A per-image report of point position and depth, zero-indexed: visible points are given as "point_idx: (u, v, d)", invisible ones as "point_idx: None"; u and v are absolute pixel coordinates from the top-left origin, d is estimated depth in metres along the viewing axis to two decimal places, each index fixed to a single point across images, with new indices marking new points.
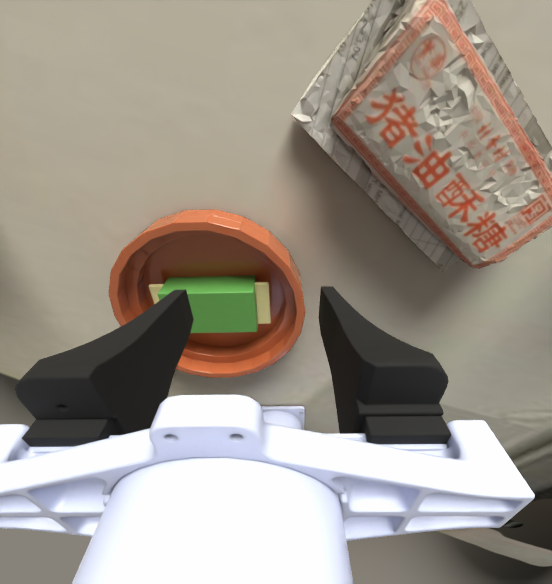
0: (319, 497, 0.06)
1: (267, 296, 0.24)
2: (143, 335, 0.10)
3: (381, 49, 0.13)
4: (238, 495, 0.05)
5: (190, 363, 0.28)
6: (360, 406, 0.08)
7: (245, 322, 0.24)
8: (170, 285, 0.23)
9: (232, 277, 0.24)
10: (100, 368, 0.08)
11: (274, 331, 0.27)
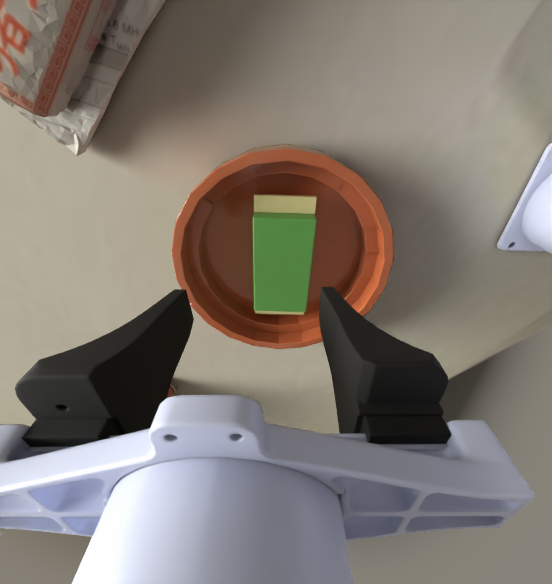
0: (319, 497, 0.06)
1: (272, 197, 0.19)
2: (143, 335, 0.10)
3: None
4: (238, 495, 0.05)
5: (360, 302, 0.23)
6: (360, 406, 0.08)
7: (298, 232, 0.19)
8: None
9: None
10: (100, 368, 0.08)
11: (338, 191, 0.19)
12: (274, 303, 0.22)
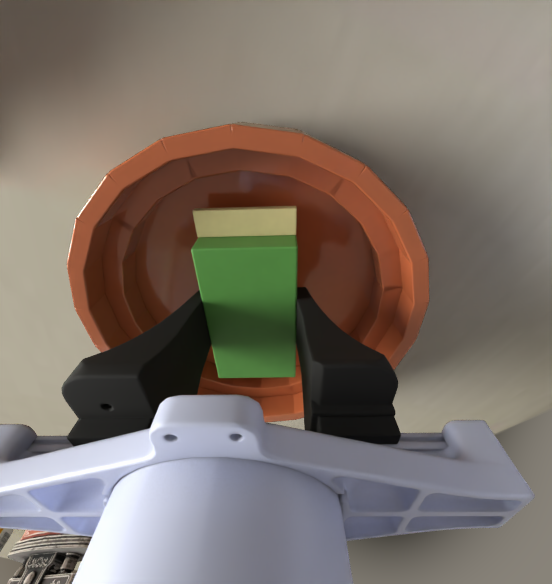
0: (319, 497, 0.06)
1: (223, 213, 0.11)
2: (178, 335, 0.10)
3: None
4: (238, 495, 0.05)
5: None
6: (313, 406, 0.08)
7: (269, 268, 0.12)
8: None
9: None
10: (146, 367, 0.08)
11: None
12: (246, 368, 0.15)
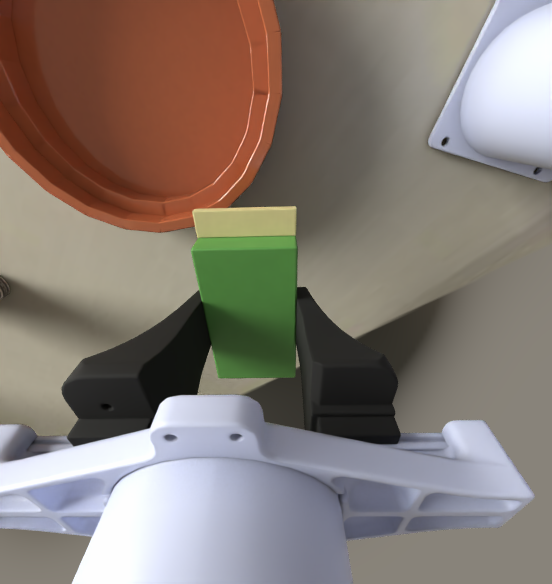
0: (319, 497, 0.06)
1: (222, 214, 0.11)
2: (178, 335, 0.10)
3: None
4: (238, 495, 0.05)
5: (242, 174, 0.17)
6: (313, 406, 0.08)
7: (269, 268, 0.12)
8: None
9: None
10: (146, 367, 0.08)
11: None
12: (246, 368, 0.15)
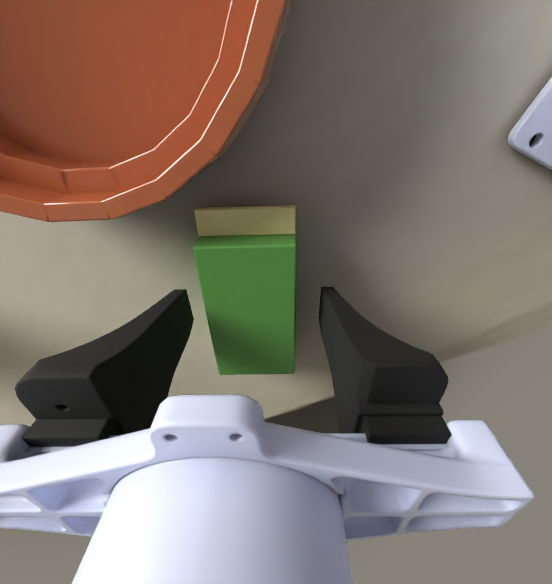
0: (319, 497, 0.06)
1: (223, 213, 0.12)
2: (143, 336, 0.10)
3: None
4: (238, 495, 0.05)
5: None
6: (360, 406, 0.08)
7: (268, 266, 0.12)
8: None
9: None
10: (100, 368, 0.08)
11: None
12: (246, 364, 0.15)
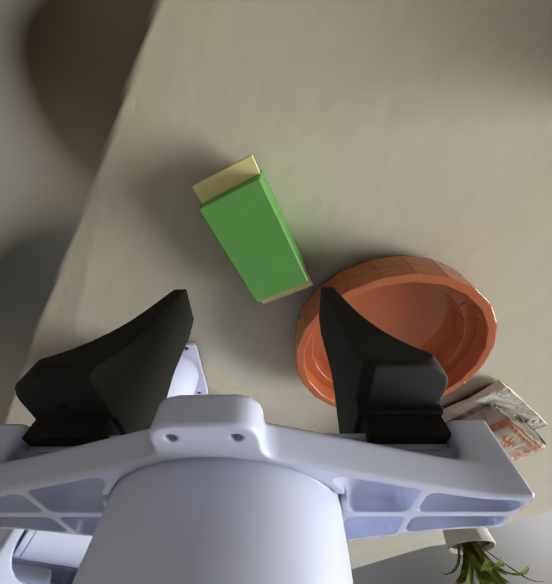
0: (319, 497, 0.06)
1: (297, 290, 0.22)
2: (143, 335, 0.10)
3: (533, 438, 0.28)
4: (238, 495, 0.05)
5: None
6: (360, 406, 0.08)
7: (264, 287, 0.20)
8: (265, 184, 0.18)
9: (296, 245, 0.21)
10: (100, 368, 0.08)
11: None
12: (241, 203, 0.17)
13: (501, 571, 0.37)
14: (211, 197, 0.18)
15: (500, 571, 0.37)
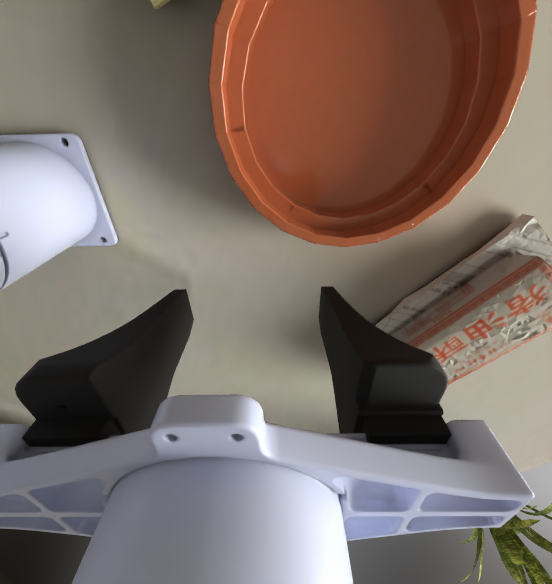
0: (319, 497, 0.06)
1: None
2: (143, 335, 0.10)
3: None
4: (238, 495, 0.05)
5: (231, 31, 0.14)
6: (360, 406, 0.08)
7: None
8: None
9: None
10: (100, 368, 0.08)
11: (291, 201, 0.19)
12: None
13: None
14: None
15: None
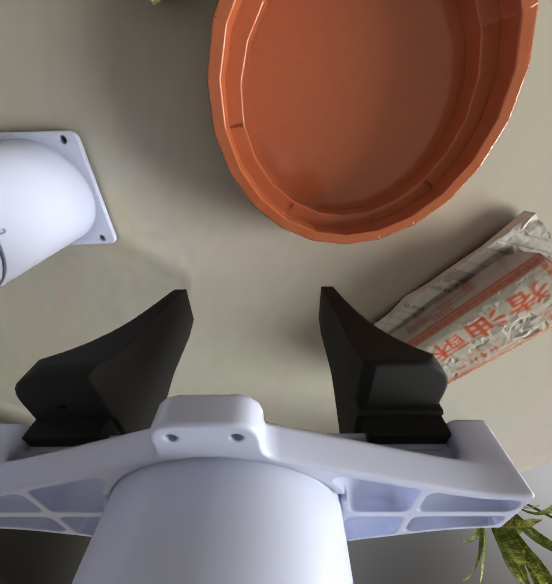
0: (319, 497, 0.06)
1: None
2: (143, 336, 0.10)
3: None
4: (238, 495, 0.05)
5: (230, 26, 0.14)
6: (360, 406, 0.08)
7: None
8: None
9: None
10: (100, 368, 0.08)
11: (291, 198, 0.19)
12: None
13: None
14: None
15: None
